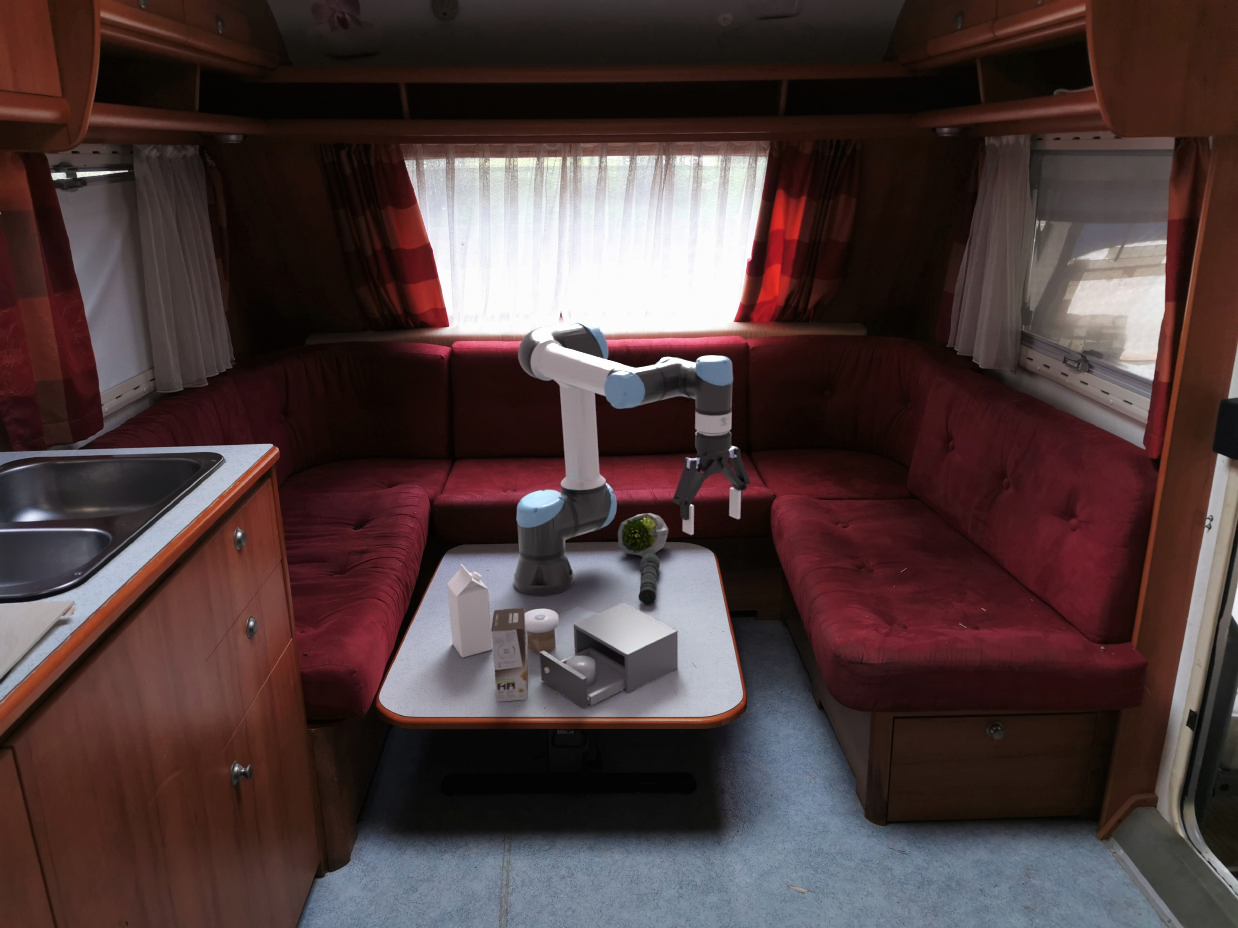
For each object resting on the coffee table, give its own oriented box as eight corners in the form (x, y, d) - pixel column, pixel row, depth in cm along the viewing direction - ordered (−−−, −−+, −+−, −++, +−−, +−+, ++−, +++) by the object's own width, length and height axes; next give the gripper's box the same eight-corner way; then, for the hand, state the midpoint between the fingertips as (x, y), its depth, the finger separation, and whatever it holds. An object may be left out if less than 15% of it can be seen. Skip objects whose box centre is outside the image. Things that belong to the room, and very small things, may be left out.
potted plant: (678, 535, 249) (668, 543, 235) (642, 563, 252) (630, 571, 238) (651, 501, 251) (639, 506, 236) (616, 528, 254) (602, 535, 239)
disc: (514, 623, 199) (514, 616, 198) (544, 611, 204) (543, 604, 203) (536, 636, 193) (535, 629, 193) (565, 624, 198) (565, 617, 198)
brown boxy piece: (527, 647, 201) (526, 623, 199) (543, 640, 203) (542, 617, 201) (539, 655, 197) (538, 630, 196) (555, 648, 200) (554, 624, 198)
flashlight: (659, 569, 238) (659, 552, 236) (657, 606, 218) (657, 587, 217) (641, 569, 238) (640, 552, 237) (636, 606, 219) (636, 587, 217)
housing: (575, 661, 195) (573, 623, 192) (623, 638, 204) (623, 602, 201) (628, 693, 183) (627, 654, 180) (677, 668, 191) (677, 630, 188)
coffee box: (528, 700, 181) (523, 629, 176) (496, 702, 181) (490, 631, 176) (528, 675, 190) (524, 607, 185) (498, 677, 189) (493, 608, 184)
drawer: (538, 680, 187) (536, 652, 185) (590, 655, 196) (589, 628, 194) (583, 710, 177) (581, 681, 175) (636, 683, 185) (636, 654, 183)
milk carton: (462, 658, 197) (455, 579, 191) (452, 644, 203) (445, 567, 197) (493, 650, 200) (487, 572, 194) (482, 636, 206) (476, 560, 200)
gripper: (679, 446, 179) (679, 545, 186) (768, 423, 193) (765, 515, 200) (655, 438, 185) (656, 533, 191) (743, 416, 199) (741, 506, 205)
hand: (711, 524), depth 196 cm, fingers open, 13 cm apart
